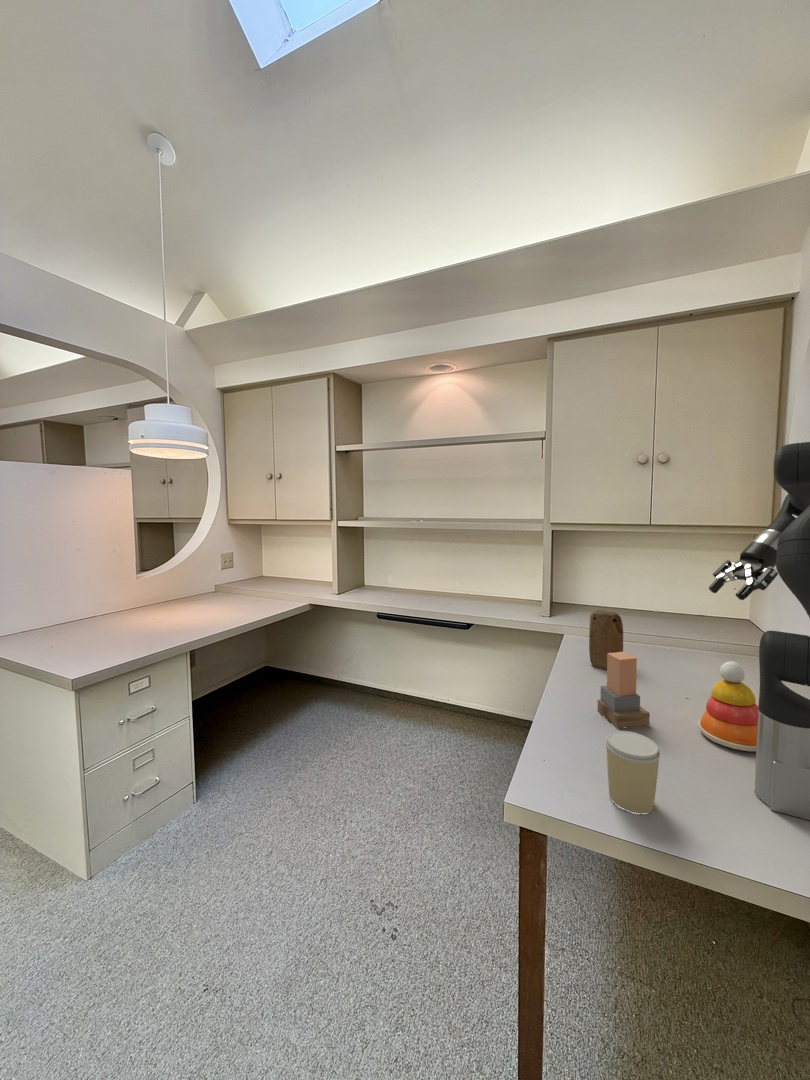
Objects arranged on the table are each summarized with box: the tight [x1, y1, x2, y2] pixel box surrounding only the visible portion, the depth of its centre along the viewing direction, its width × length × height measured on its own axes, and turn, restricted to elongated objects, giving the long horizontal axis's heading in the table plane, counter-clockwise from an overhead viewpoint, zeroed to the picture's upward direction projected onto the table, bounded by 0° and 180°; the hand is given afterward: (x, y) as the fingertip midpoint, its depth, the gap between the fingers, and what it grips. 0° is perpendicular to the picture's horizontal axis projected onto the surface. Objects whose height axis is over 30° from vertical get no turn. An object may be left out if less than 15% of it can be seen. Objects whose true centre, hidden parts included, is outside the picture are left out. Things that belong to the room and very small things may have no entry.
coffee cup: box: [605, 730, 661, 814], centre depth 81 cm, size 9×9×12 cm
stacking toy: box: [697, 660, 758, 752], centre depth 101 cm, size 14×14×20 cm
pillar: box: [606, 651, 638, 697], centre depth 112 cm, size 5×5×10 cm
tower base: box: [597, 698, 651, 729], centre depth 113 cm, size 9×9×4 cm
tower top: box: [600, 685, 641, 712], centre depth 113 cm, size 7×7×4 cm
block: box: [588, 609, 624, 671], centre depth 148 cm, size 11×8×20 cm
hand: (724, 594), depth 111 cm, fingers open, 8 cm apart
